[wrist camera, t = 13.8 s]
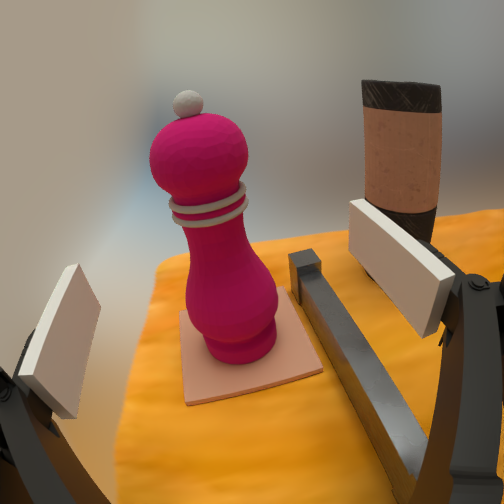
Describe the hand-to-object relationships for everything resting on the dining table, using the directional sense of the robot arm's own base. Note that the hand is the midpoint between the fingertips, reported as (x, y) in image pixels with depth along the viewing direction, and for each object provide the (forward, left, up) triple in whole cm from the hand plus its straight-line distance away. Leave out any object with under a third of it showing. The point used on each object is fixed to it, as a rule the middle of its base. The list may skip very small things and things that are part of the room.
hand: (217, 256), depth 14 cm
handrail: (-6, -5, -13) cm, 15 cm away
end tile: (+4, -5, -13) cm, 15 cm away
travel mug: (-7, -20, -13) cm, 25 cm away
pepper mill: (+4, -5, -13) cm, 14 cm away
